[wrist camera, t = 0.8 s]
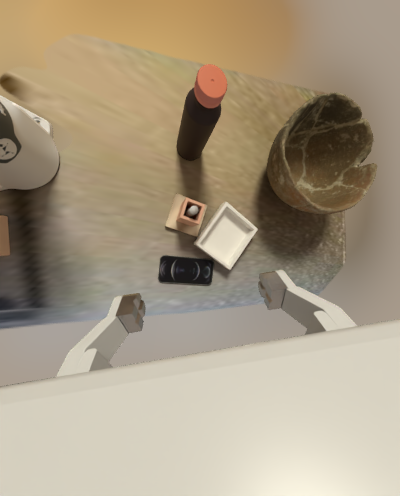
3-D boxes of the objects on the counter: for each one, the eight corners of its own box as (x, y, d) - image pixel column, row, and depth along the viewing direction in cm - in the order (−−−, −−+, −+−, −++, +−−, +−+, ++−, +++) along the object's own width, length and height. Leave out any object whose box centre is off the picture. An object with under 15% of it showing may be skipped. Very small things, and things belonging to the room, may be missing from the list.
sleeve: (175, 220, 45) (179, 217, 37) (181, 204, 45) (186, 197, 37) (192, 226, 46) (199, 224, 38) (197, 210, 46) (205, 204, 38)
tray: (192, 243, 47) (195, 244, 44) (221, 204, 48) (226, 201, 45) (225, 267, 50) (230, 269, 46) (251, 229, 51) (258, 229, 48)
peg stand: (165, 226, 45) (167, 223, 35) (175, 194, 45) (180, 181, 35) (196, 236, 47) (207, 236, 37) (206, 206, 47) (219, 197, 37)
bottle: (191, 129, 45) (216, 48, 26) (206, 152, 46) (240, 92, 27) (171, 143, 44) (181, 69, 25) (186, 166, 45) (208, 113, 26)
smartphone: (160, 254, 45) (214, 259, 48) (160, 254, 46) (213, 259, 49) (157, 282, 45) (211, 285, 49) (157, 281, 46) (210, 284, 49)
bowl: (317, 127, 55) (375, 87, 40) (327, 210, 58) (384, 201, 43) (240, 134, 49) (276, 90, 34) (256, 227, 52) (295, 223, 37)
